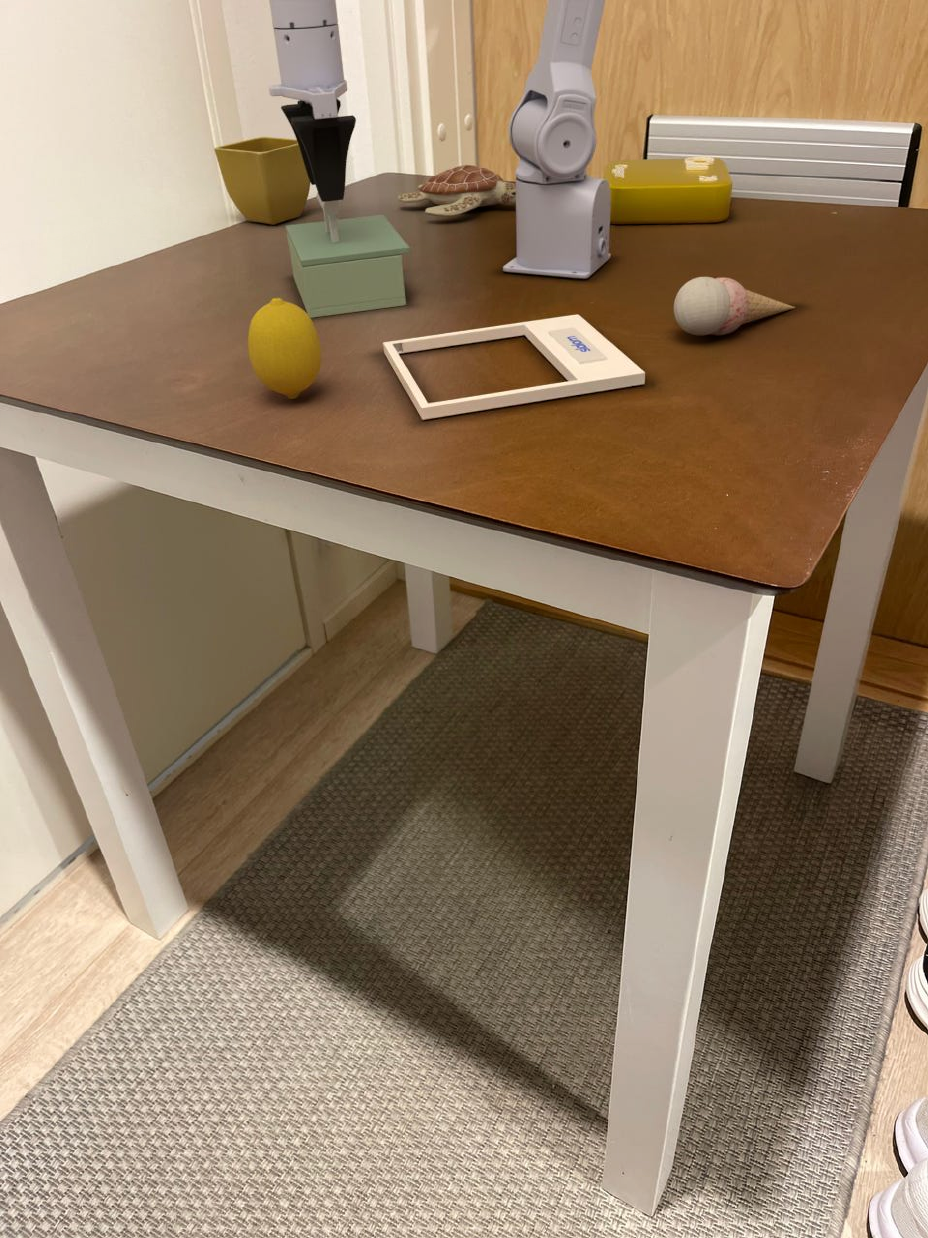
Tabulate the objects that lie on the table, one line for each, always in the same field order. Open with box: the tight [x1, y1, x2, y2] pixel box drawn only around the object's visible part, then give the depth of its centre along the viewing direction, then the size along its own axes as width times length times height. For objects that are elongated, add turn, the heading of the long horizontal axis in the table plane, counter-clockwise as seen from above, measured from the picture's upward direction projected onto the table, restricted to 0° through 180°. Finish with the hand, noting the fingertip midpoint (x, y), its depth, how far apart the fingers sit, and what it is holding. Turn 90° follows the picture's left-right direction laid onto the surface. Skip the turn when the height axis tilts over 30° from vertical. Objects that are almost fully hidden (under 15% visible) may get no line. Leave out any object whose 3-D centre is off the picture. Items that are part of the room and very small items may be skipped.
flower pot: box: [213, 136, 311, 226], centre depth 120 cm, size 9×9×9 cm
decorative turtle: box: [397, 164, 516, 217], centre depth 121 cm, size 18×17×5 cm
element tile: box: [603, 156, 733, 225], centre depth 115 cm, size 15×15×5 cm
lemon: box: [247, 297, 322, 400], centre depth 73 cm, size 6×6×8 cm
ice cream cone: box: [673, 276, 796, 336], centre depth 82 cm, size 5×5×15 cm
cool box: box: [286, 232, 407, 319], centre depth 95 cm, size 10×14×5 cm
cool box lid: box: [285, 192, 411, 267], centre depth 92 cm, size 10×14×5 cm
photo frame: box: [382, 314, 646, 421], centre depth 77 cm, size 15×1×18 cm
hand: (326, 191), depth 91 cm, fingers open, 7 cm apart
